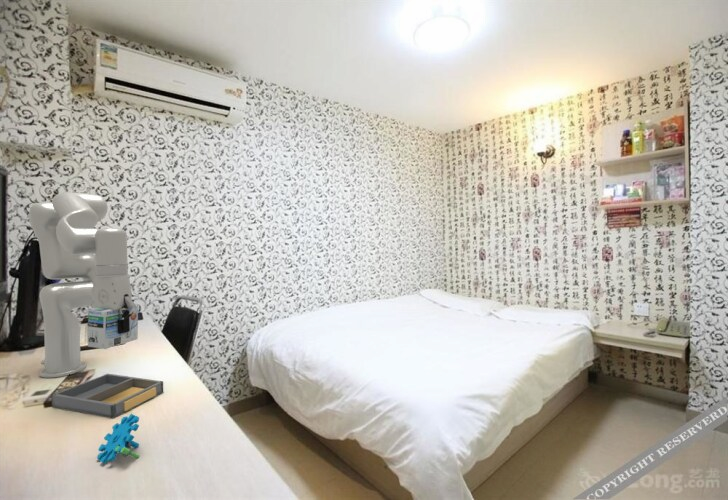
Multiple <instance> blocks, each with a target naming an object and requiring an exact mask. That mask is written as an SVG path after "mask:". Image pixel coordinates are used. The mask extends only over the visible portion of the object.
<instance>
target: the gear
mask: <svg viewBox="0 0 728 500" xmlns="http://www.w3.org/2000/svg"><path fill="white" fill-rule="evenodd" d="M139 421H140V416H137V415H135V414H133V413H131V414H129V415H128V416H122V418H121V421H120V422H119V423H118V422H116V423H115V424H114V425H112V432H111V433H110V432H108V433H107V434H106V435H105V436H104V438H103V439H104V440H105V441H107V442H106V443H105V444H103V443H102V444H100V446H99V448H98V449H97V451H98V452H99V453H98V455H97V456H96V457H97V458H96V459H97V461H100V462H101V463H102V464H105V465H106V464H107V463H108V462H109V461H110V462H114V461H115V460H116V458H117V454H120V455H121V454H122V457H125V458H128V457H129V456H130V457H131V458H135V459H139V457H140V454H138V453H135V452H134V451H133V448H135V449H137V448H138V447H139V446H140V444H139V443H138V442H137V441H135V440H133V439H134V438H135V436H134V435H133V434H132V433H131V432H132V431H133V432H136V431H138V429H139V427H140V424H138V423H139Z"/></svg>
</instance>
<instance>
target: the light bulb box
mask: <svg viewBox="0 0 728 500" xmlns="http://www.w3.org/2000/svg"><path fill="white" fill-rule="evenodd" d="M135 305H136V308H135V310H134V311H133V314H132V315H131V318H129V321H130V331H129V332H126V333H122V334H118V320H120V319H119V317H118V311H113V310H110V309H103V308H88V309H87V347H88V348H89V347H90V348H96V349H103V350H107V349H110V348H113V347H117V346H120V345H123V344H126V343H129V342H133V341H136V340H138V330H139V329H138V328H139V326H138V325H139V305H138V304H135ZM122 308H125V307H122ZM124 312H125V311H122V313H123V314H124Z"/></svg>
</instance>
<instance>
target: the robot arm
mask: <svg viewBox="0 0 728 500" xmlns="http://www.w3.org/2000/svg"><path fill="white" fill-rule="evenodd" d="M107 203H108V202H107V201H106V199H105V198H104V197H102V196H101V195H100V194H96V193H95V194H93V193H87V192H86V193H83V192H74V191H73V192H71V191H69V192H68V191H66V192H64V191H63V192H61V193H57V194H56V195H55V196H54V197H53V198H52V201H50V202H49V201H48V202H47V201H45V202H42V201H41V202H38V203H34V204H32V205H31V206H30V208H29V212H28V220H29V223H30V227H31V229H32V231H33V233H34V234H35V237H36V239H37V241H38V244H39V254H40V260H41V261H40V262H41V270H42V274H43V276H44V277H45V278H46V279H49V280H67V279H68V280H69V279H71V280H72V279H78V278H79V279H82V281H68V282H55V283H51V284H48V285H46V286H44V287H42V289H40V291H39V296H38V297H39V302H40V305H41V306H40V307H41V310H42V316H43V330H44V331H43V332H44V333H43V334H44V337H43V338H44V359H43V360H41V361H40V364H41V365H43V366H44V368H43V369H41V370H39V373H38V374H39V377H40V378H47V379H48V378H50V379H51V378H60V377H65V376H69V374H70V375H72V374H76V372H77V373H79V372H81V371H83V370H85V369H86V367H87V363H86V362H84V361H83V362H82V361H81V328H80V327H81V326H80V319H79V317H78V316H77V315H76V314H74V313H73V312H72V311H71V310H73V309H78V308H85V307H91V309H93V308H103V309H110V310H113V311H118V317H119V319H120V320H118V334H122V333H126V332H129V331H130V321H129V318H131V315H132V314H133V311H134V310H135V308H136V305H137V304H136V303H134V301H133V298H132V287H131V282H130V278H129V277H130V276H129V274H128V273H129V272H128V271H129V268H128V267H129V266H128V236H127V231H125V229H122V228H95V227H96V225H97V224H98V222H100V221H102V220H103V219H104V218H105V216H106V215H107V213H108V204H107ZM122 307H125V308H122ZM122 311H125V312H124V314H123V313H122Z"/></svg>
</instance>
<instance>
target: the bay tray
mask: <svg viewBox="0 0 728 500" xmlns="http://www.w3.org/2000/svg"><path fill="white" fill-rule="evenodd" d="M163 393H164V381H163V380H155V379H149V378H148V379H147V378H143V377H142V378H141V377H134V376H128V375H121V374H113V373H106V374H103V375H100V376H98V377H95V378H92V379H89V380H87V381H84V382H82V383H79V384H76V385H74V386H71V387H69V388H66V389H63V390H60V391H58V392H55V393H53V394H51V407H52V408H55V409H59V410H65V411H71V412H77V413H82V414H88V415H93V416H97V417H104V418H108V419H115V418H118V417H119V416H121V415H123V414H125V413H127V412H128V411H130V410H132V409H134V408H136V407H138V406H140V405H142V404H144V403H146V402H148V401H149V400H152V399H154V398H155V397H157V396H159V395H161V394H163Z"/></svg>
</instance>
